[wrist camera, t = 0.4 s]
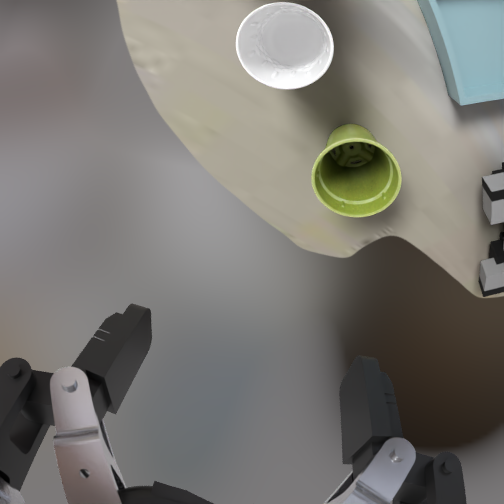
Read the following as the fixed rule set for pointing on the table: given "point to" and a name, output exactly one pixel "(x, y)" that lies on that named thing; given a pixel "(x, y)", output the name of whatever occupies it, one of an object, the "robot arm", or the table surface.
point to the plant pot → (355, 173)
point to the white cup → (284, 45)
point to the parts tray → (468, 46)
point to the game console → (497, 211)
